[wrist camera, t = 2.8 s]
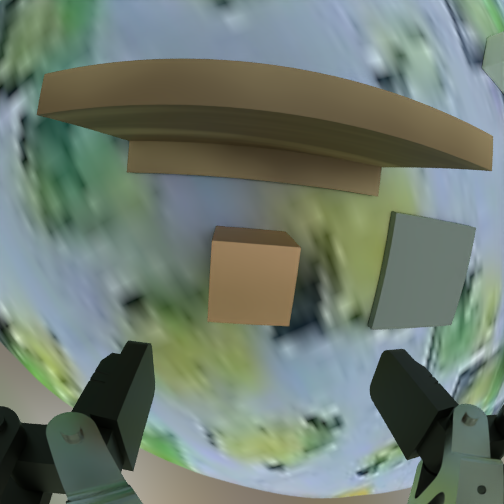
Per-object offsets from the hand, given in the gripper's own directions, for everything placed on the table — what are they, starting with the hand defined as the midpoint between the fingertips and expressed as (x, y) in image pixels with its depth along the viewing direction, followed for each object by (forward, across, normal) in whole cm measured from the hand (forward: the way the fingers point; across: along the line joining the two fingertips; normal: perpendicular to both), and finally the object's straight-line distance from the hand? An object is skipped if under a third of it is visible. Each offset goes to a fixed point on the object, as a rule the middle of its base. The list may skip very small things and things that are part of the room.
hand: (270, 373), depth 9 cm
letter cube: (+13, 0, 0) cm, 13 cm away
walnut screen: (+13, 0, -9) cm, 16 cm away
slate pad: (+13, -16, 0) cm, 21 cm away
